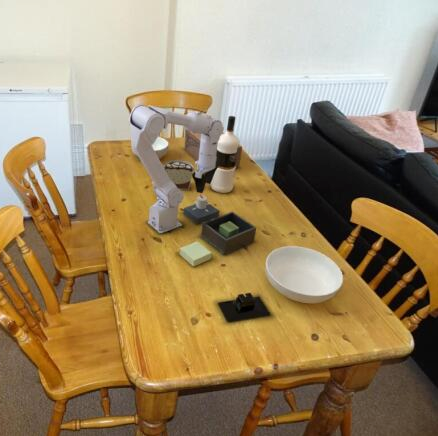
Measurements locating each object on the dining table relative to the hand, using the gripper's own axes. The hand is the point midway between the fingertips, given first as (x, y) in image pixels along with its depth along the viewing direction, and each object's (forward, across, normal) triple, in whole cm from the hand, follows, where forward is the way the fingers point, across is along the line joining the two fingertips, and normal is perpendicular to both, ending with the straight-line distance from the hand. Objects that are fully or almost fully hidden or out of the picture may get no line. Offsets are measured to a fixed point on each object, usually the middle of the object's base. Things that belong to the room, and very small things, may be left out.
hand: (203, 187), depth 145 cm
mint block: (+10, +25, +8) cm, 28 cm away
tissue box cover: (+11, -45, -14) cm, 49 cm away
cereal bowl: (+11, -31, -38) cm, 51 cm away
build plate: (+10, +39, +28) cm, 50 cm away
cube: (+10, +11, +14) cm, 20 cm away
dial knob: (+8, 0, 0) cm, 8 cm away
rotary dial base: (+10, +2, +1) cm, 11 cm away
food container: (+11, -14, -16) cm, 24 cm away
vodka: (+11, -21, 0) cm, 24 cm away
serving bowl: (+11, +23, +40) cm, 47 cm away
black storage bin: (+10, +11, +14) cm, 21 cm away
